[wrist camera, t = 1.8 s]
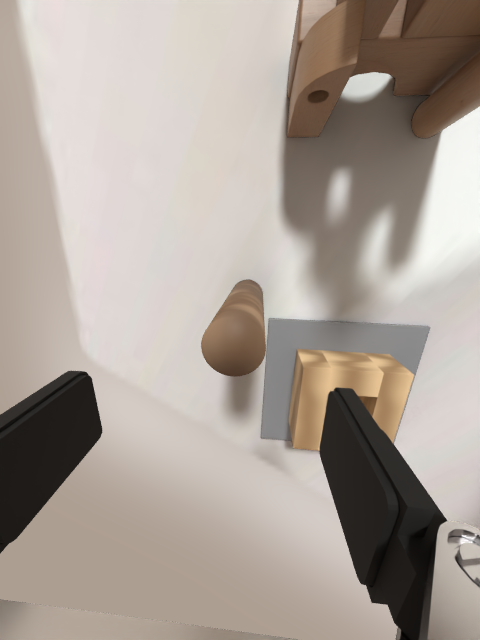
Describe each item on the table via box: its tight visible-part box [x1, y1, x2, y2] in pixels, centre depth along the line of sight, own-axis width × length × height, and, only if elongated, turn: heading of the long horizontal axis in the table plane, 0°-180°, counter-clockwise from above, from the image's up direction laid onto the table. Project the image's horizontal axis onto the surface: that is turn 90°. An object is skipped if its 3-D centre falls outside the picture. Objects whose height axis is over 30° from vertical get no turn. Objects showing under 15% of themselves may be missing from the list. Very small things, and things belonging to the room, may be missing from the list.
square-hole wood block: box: [289, 349, 414, 451], centre depth 29 cm, size 12×12×5 cm
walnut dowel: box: [201, 280, 266, 376], centre depth 21 cm, size 4×4×16 cm
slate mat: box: [261, 318, 430, 444], centre depth 32 cm, size 20×20×1 cm
